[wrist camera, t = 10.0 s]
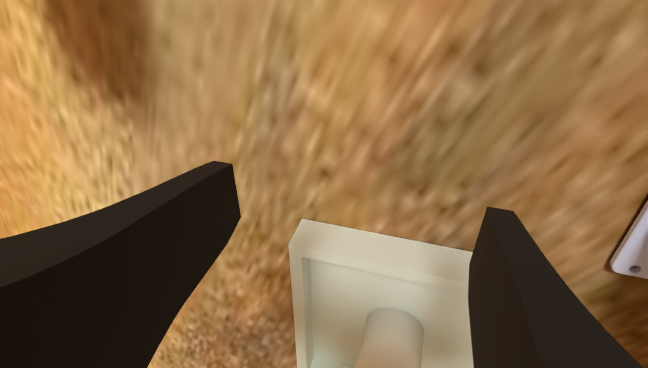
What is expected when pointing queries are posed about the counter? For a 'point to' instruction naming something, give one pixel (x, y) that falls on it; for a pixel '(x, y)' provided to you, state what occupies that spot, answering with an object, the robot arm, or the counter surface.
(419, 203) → the counter surface
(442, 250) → the tray
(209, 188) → the robot arm
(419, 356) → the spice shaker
